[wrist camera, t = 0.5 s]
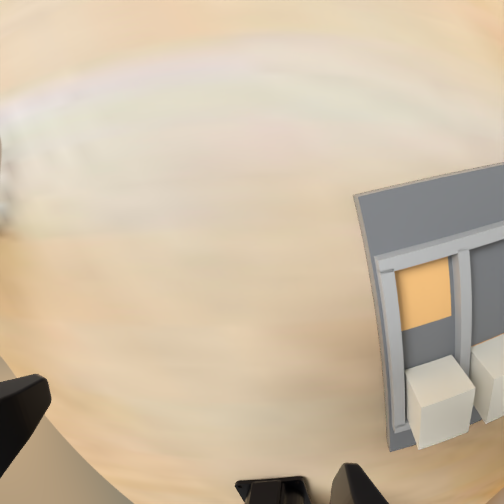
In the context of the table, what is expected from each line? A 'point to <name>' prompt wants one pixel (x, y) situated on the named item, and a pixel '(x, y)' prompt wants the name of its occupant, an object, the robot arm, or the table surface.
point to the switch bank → (433, 275)
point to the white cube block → (488, 378)
